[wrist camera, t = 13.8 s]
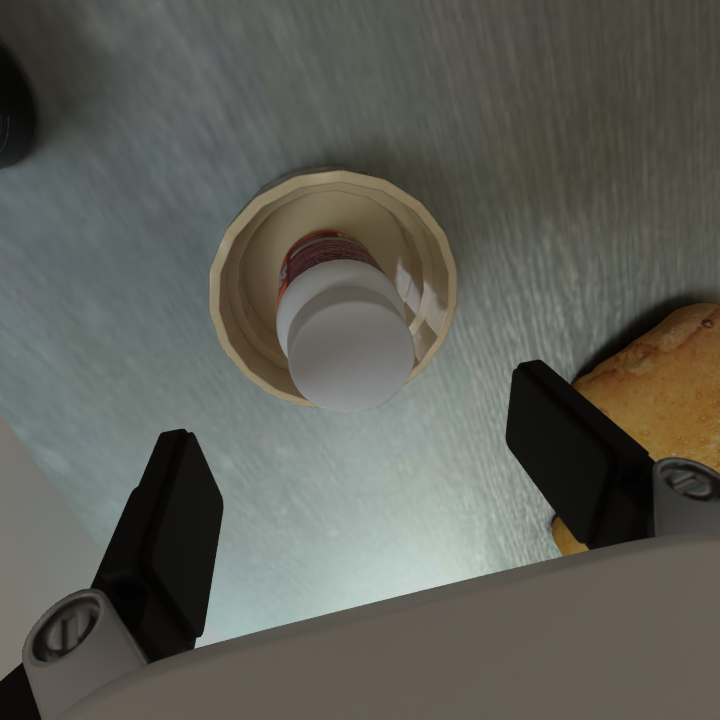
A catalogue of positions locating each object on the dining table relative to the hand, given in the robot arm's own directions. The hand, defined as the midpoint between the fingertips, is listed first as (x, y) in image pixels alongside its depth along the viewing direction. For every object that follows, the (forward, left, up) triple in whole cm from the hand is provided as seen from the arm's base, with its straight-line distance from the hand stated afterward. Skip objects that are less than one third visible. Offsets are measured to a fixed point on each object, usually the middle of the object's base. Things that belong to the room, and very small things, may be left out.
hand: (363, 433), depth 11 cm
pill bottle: (0, 0, -16) cm, 16 cm away
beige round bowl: (0, 0, -16) cm, 16 cm away
